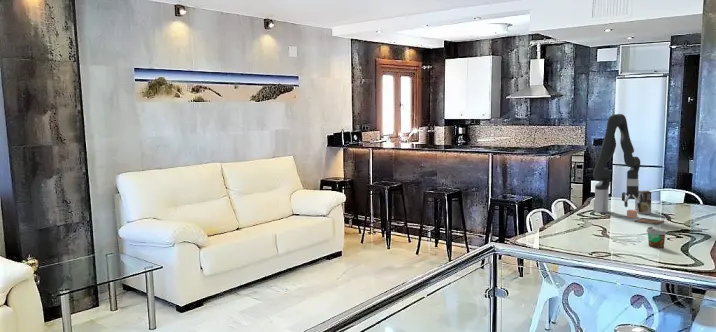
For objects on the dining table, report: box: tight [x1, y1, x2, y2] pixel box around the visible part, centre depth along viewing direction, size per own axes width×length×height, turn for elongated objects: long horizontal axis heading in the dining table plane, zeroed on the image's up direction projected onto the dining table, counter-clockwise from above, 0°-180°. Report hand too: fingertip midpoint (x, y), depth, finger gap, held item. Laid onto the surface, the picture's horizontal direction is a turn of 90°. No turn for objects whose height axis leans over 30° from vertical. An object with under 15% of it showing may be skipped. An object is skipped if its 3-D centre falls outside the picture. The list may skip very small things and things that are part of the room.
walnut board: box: [634, 217, 665, 226], centre depth 363 cm, size 14×12×1 cm
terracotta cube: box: [626, 209, 638, 219], centre depth 380 cm, size 5×5×5 cm
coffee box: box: [634, 190, 652, 215], centre depth 393 cm, size 9×6×16 cm
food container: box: [646, 226, 667, 249], centre depth 302 cm, size 12×6×10 cm, turn 5°
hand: (632, 207), depth 379 cm, fingers open, 8 cm apart
